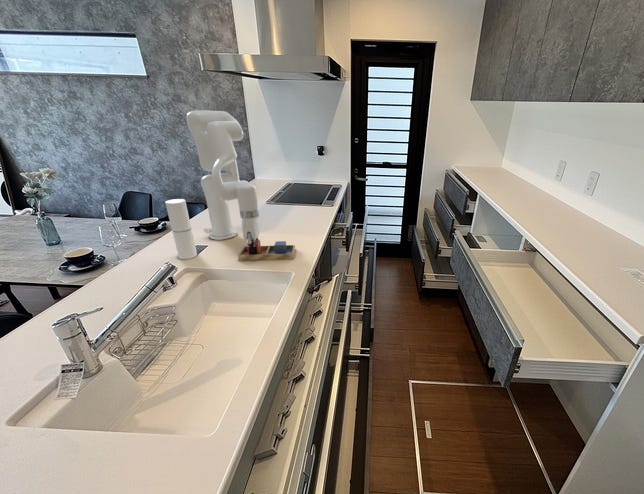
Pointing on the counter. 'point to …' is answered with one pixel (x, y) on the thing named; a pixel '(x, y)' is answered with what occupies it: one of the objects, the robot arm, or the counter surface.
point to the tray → (266, 253)
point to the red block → (257, 243)
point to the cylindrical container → (181, 228)
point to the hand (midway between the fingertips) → (254, 251)
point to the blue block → (280, 247)
